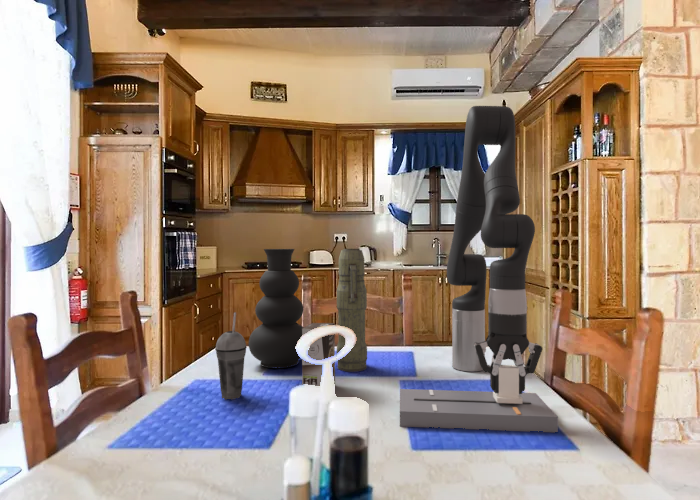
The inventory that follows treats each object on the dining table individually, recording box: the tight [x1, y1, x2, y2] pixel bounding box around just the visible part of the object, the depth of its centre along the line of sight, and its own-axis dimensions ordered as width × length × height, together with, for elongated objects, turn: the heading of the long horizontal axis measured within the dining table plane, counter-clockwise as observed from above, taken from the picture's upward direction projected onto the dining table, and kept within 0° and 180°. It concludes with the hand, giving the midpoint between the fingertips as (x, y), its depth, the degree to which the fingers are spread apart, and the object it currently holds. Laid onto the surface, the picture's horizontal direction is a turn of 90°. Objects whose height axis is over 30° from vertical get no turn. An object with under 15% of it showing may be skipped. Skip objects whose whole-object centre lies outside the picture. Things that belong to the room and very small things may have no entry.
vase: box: [248, 248, 305, 369], centre depth 136 cm, size 18×18×35 cm
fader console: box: [399, 388, 559, 433], centre depth 95 cm, size 14×30×3 cm, turn 84°
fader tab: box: [492, 364, 522, 404], centre depth 94 cm, size 4×5×7 cm
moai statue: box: [336, 248, 368, 373], centre depth 132 cm, size 9×12×35 cm
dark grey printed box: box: [301, 322, 336, 386], centre depth 112 cm, size 9×6×16 cm
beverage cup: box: [214, 312, 248, 400], centre depth 108 cm, size 7×7×20 cm
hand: (507, 392), depth 94 cm, fingers closed on fader tab, 4 cm apart
